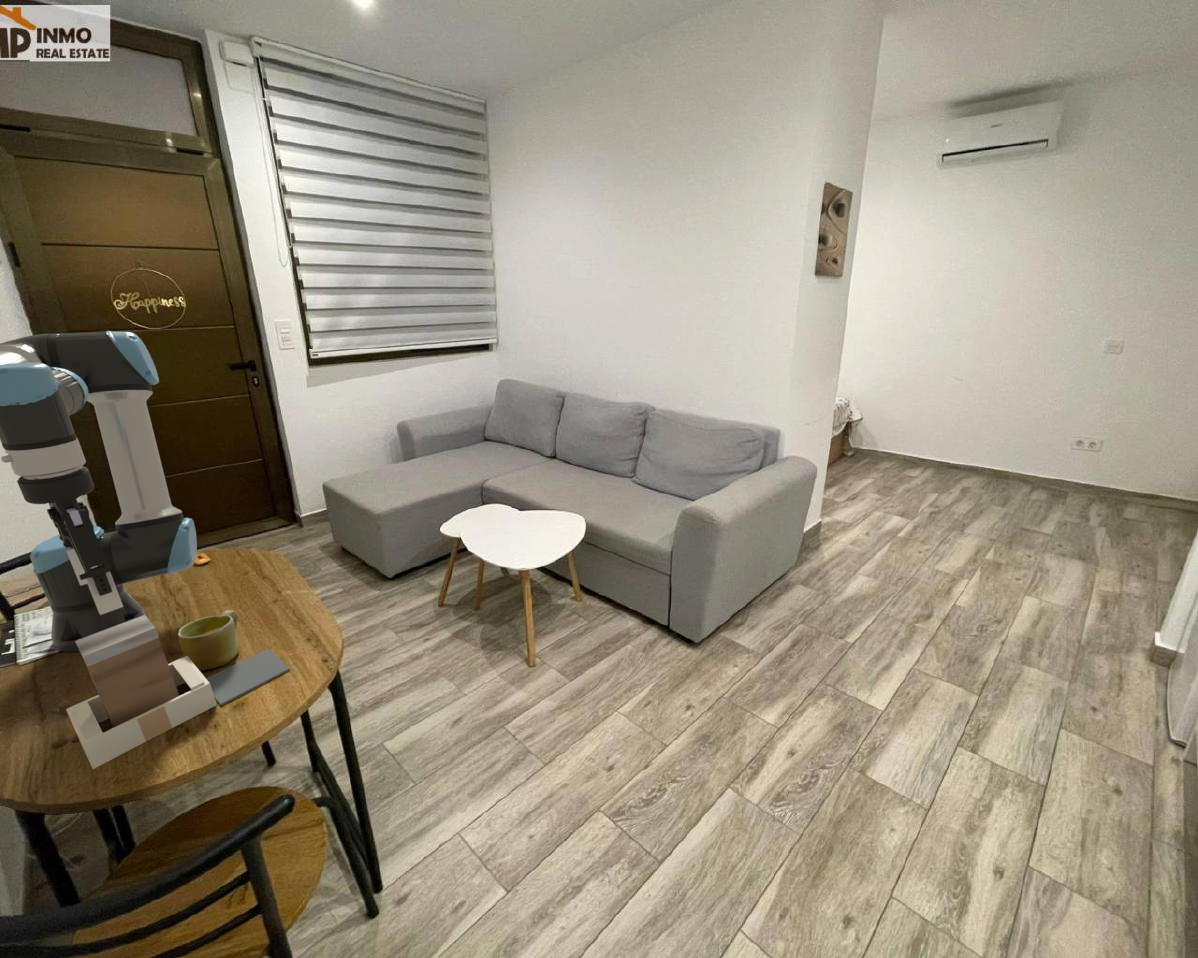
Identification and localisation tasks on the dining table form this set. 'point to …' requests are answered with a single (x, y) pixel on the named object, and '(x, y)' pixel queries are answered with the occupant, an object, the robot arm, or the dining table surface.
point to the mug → (210, 640)
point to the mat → (246, 676)
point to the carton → (141, 716)
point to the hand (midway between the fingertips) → (100, 595)
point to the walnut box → (128, 669)
